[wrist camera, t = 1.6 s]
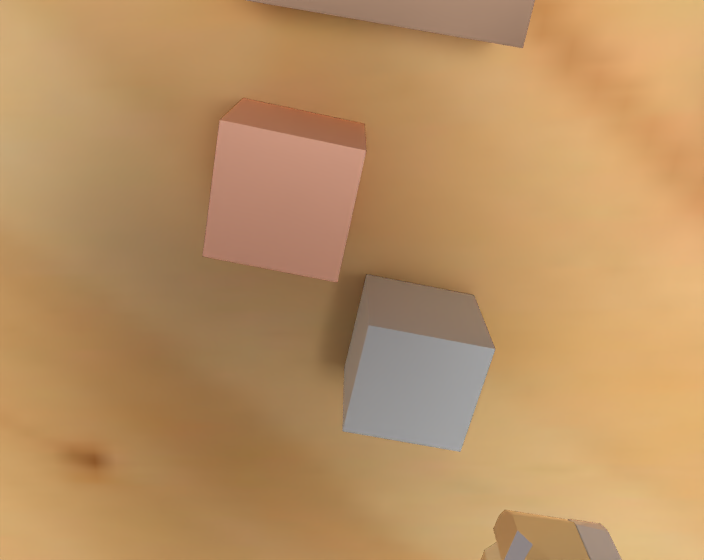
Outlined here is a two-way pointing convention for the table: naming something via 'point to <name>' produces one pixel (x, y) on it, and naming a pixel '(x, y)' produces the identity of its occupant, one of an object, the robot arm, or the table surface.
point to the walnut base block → (434, 16)
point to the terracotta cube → (284, 189)
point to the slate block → (415, 364)
